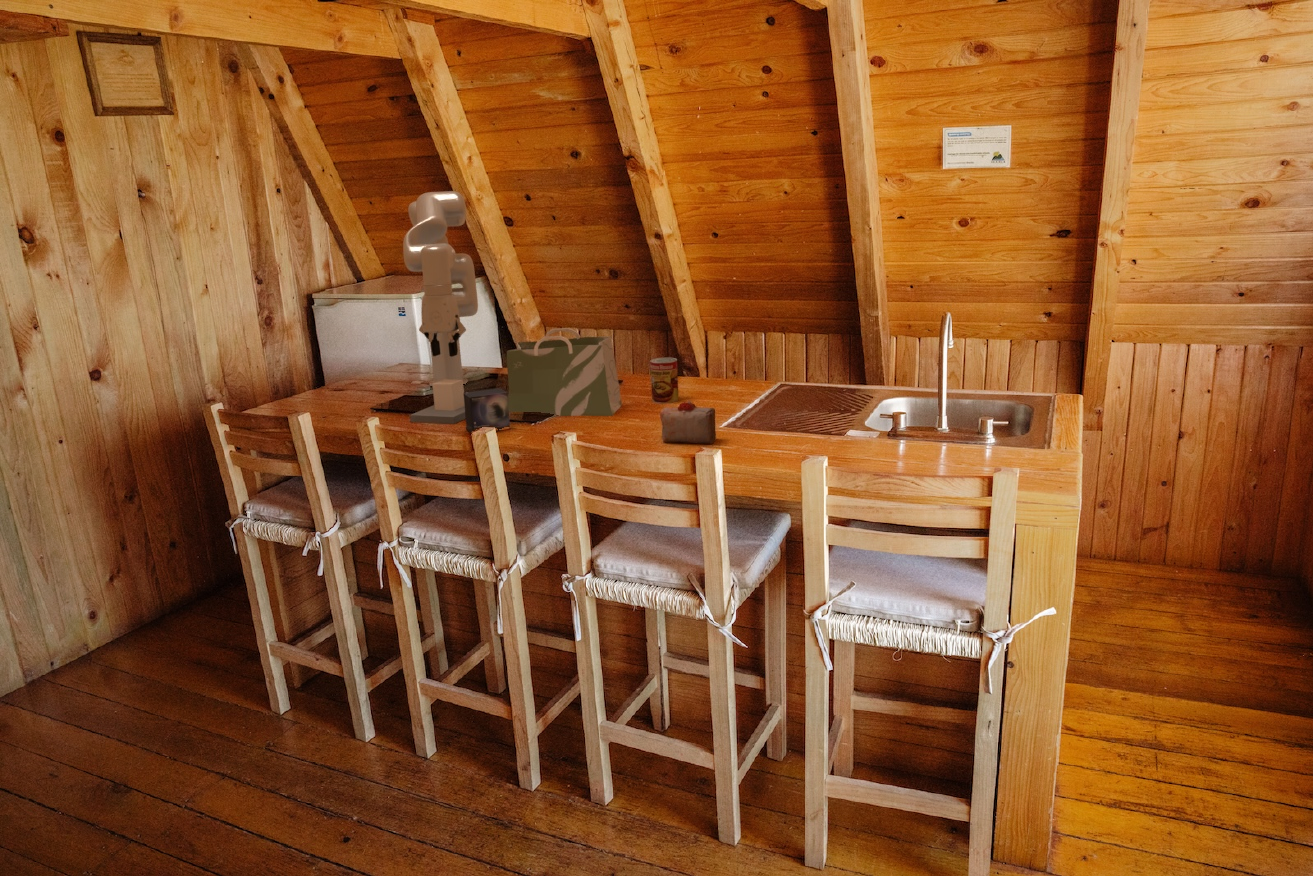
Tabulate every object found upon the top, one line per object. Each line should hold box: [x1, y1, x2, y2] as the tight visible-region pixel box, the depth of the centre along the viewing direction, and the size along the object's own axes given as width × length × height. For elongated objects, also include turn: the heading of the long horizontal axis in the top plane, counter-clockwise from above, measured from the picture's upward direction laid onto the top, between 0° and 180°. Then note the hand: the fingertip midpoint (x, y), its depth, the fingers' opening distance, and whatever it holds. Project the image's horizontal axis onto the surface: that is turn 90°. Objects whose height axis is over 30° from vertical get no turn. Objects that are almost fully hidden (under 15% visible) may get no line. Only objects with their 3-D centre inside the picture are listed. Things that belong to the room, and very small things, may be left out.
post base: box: [409, 404, 466, 425], centre depth 272 cm, size 20×14×8 cm
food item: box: [659, 399, 717, 445], centre depth 234 cm, size 14×8×10 cm, turn 74°
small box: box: [463, 387, 511, 434], centre depth 253 cm, size 11×6×10 cm, turn 117°
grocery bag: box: [506, 327, 622, 417], centre depth 270 cm, size 32×14×23 cm, turn 78°
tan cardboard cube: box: [432, 379, 465, 411], centre depth 272 cm, size 6×6×8 cm
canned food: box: [649, 357, 679, 404], centre depth 278 cm, size 8×8×12 cm
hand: (445, 354), depth 269 cm, fingers open, 4 cm apart
